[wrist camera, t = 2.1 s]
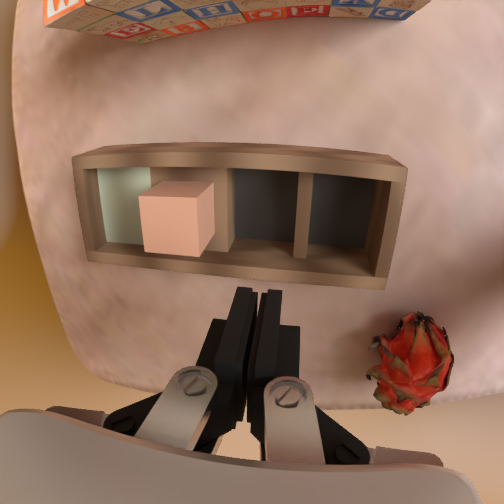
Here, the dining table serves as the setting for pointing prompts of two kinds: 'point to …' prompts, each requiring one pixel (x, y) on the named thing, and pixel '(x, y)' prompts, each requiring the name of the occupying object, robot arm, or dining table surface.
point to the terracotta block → (177, 217)
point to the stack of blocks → (202, 14)
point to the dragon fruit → (412, 364)
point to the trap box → (252, 209)
